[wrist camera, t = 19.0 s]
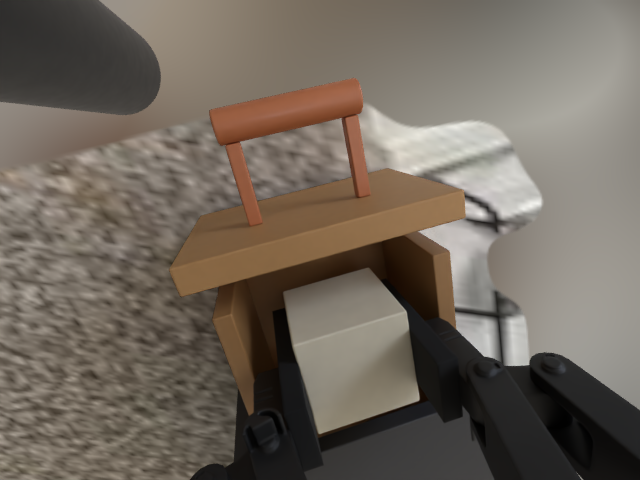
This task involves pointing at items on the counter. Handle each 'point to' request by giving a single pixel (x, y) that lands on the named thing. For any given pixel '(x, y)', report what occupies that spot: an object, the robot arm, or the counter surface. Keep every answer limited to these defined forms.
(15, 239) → the counter surface
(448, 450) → the cabinet
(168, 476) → the counter surface
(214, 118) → the drawer
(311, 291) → the block
